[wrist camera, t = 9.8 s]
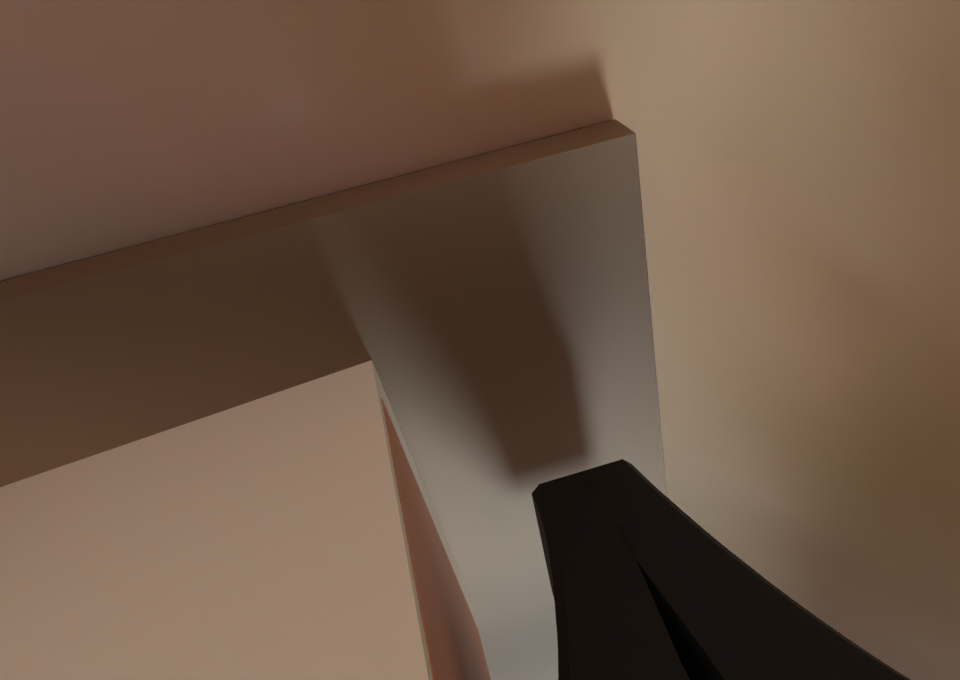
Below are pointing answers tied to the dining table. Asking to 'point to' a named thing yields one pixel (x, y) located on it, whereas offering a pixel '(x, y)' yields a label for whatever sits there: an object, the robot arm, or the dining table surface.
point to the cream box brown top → (239, 553)
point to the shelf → (381, 344)
